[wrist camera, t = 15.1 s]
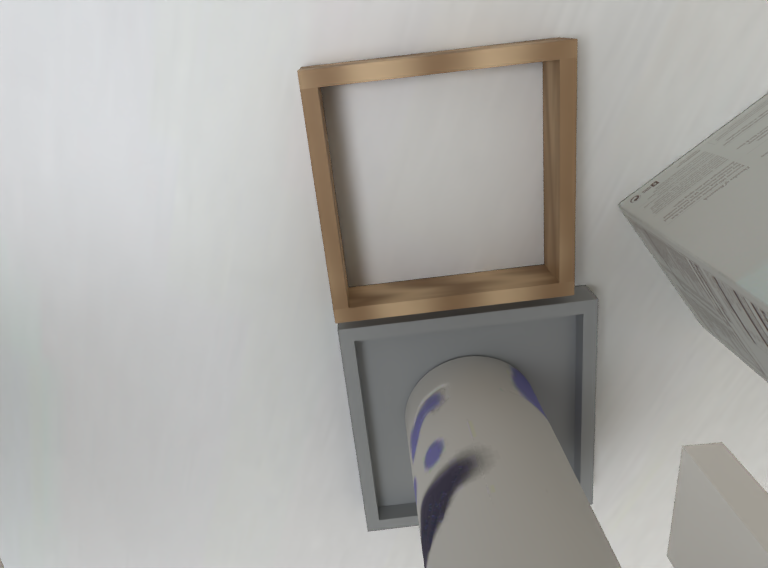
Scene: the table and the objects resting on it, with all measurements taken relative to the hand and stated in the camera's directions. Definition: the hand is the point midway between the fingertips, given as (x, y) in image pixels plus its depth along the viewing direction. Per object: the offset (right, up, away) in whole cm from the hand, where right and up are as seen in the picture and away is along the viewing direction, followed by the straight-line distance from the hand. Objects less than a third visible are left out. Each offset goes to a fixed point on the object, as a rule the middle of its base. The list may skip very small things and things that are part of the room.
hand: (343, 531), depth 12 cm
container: (+7, -5, +36) cm, 37 cm away
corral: (+4, +12, +30) cm, 33 cm away
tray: (+7, -5, +37) cm, 38 cm away
